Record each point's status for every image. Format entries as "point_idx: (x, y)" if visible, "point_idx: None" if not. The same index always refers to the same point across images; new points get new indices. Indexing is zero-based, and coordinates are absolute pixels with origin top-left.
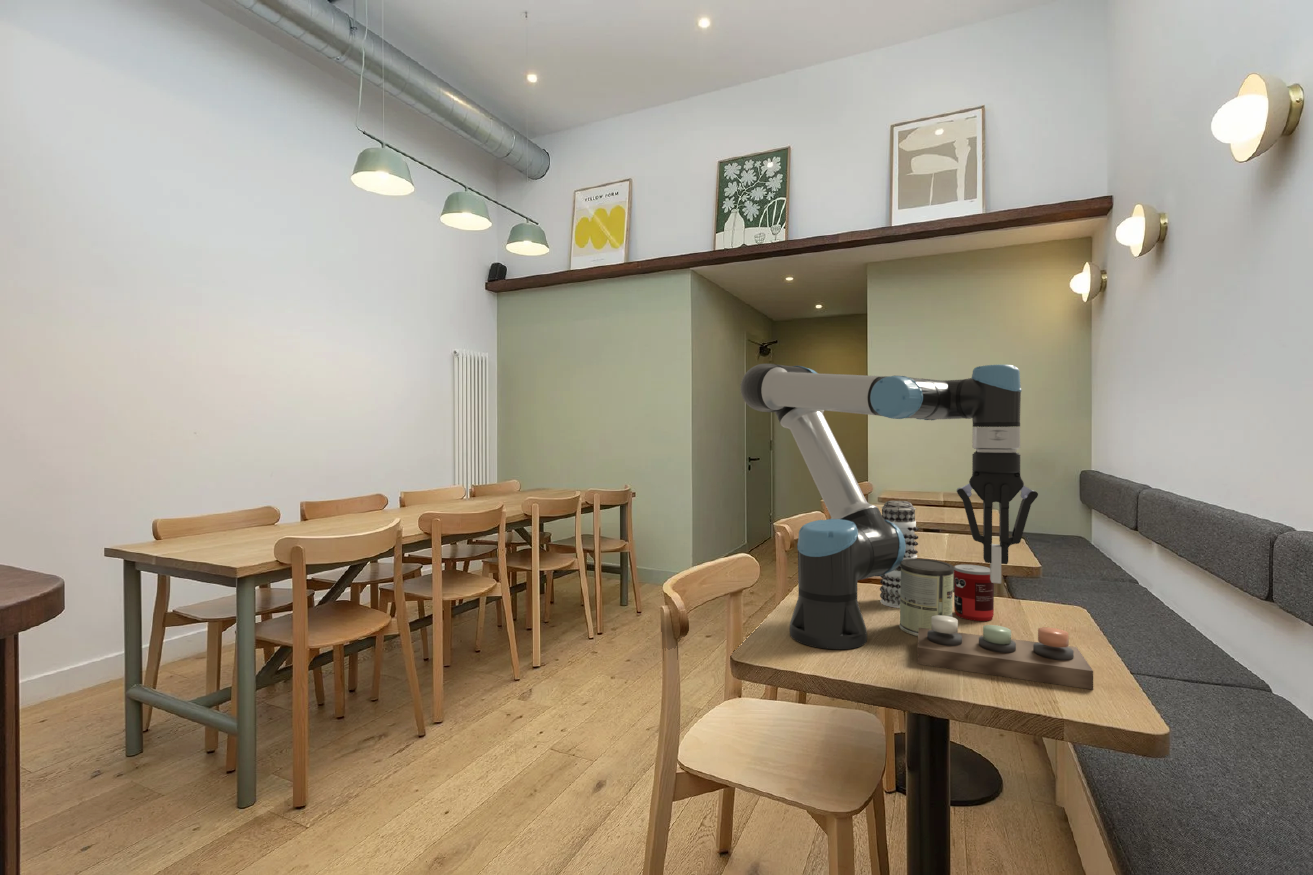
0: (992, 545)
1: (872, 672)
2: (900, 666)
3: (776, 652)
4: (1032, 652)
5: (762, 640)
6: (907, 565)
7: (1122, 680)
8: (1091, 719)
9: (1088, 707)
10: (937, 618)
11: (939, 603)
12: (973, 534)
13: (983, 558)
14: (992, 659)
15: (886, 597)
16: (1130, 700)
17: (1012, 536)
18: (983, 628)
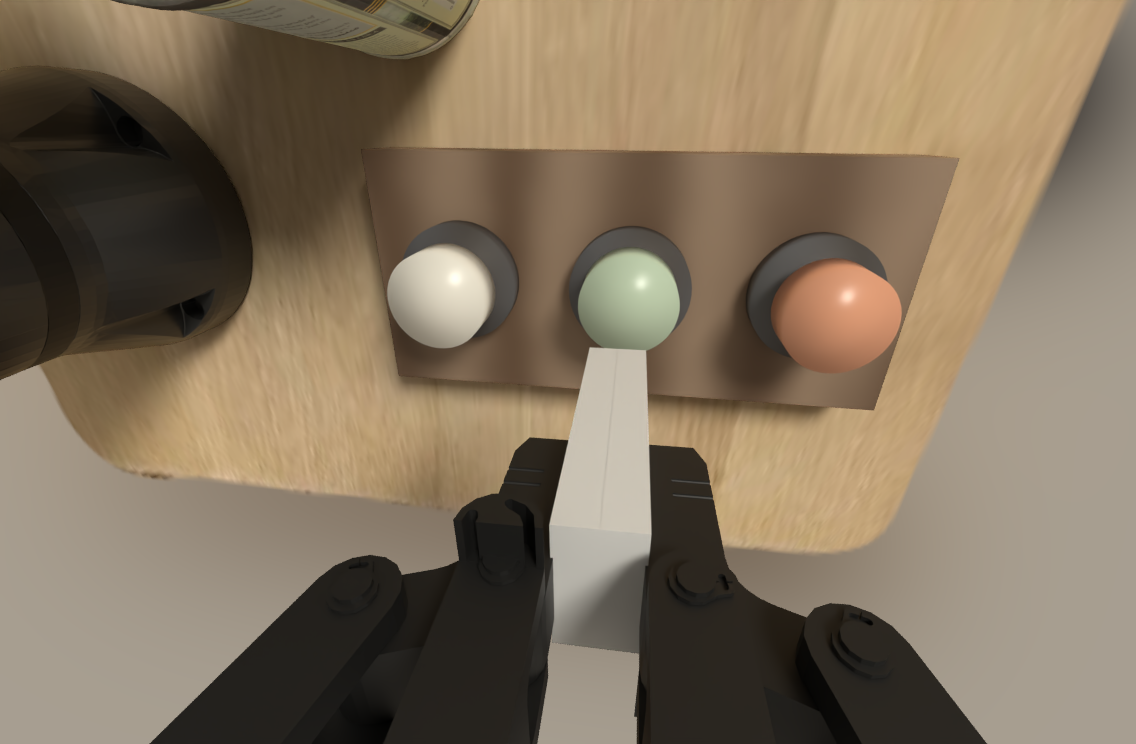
0: (563, 599)
1: (340, 440)
2: (385, 385)
3: (114, 392)
4: (740, 299)
5: None
6: None
7: (998, 277)
8: (762, 535)
9: (783, 486)
10: (410, 306)
11: (379, 13)
12: (329, 737)
13: (515, 455)
14: None
15: None
16: (917, 422)
17: (808, 742)
18: (579, 312)
